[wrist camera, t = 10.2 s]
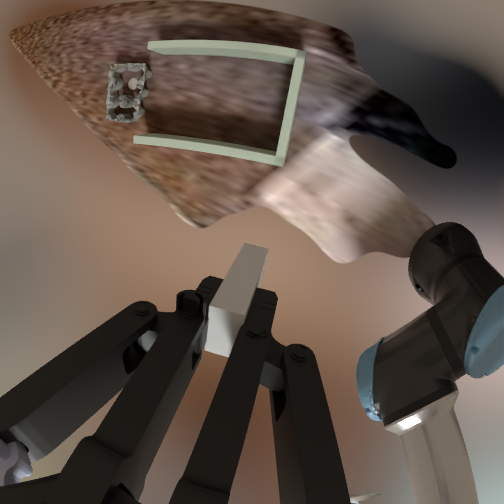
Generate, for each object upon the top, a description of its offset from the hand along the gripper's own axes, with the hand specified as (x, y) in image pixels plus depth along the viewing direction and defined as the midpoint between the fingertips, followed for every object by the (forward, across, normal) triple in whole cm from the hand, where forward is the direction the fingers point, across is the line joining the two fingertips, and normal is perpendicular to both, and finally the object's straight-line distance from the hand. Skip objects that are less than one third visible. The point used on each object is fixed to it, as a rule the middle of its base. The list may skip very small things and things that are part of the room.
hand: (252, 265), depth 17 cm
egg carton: (+27, +29, -12) cm, 41 cm away
